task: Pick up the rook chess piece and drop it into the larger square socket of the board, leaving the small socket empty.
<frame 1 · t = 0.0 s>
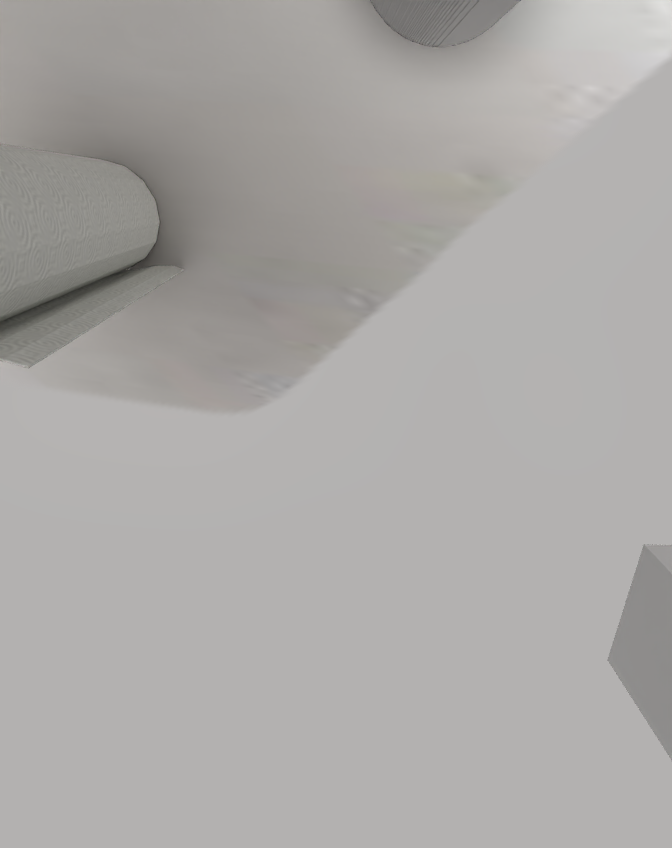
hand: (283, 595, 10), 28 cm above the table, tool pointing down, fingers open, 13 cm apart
paper towel roll: (114, 225, 34), on the table
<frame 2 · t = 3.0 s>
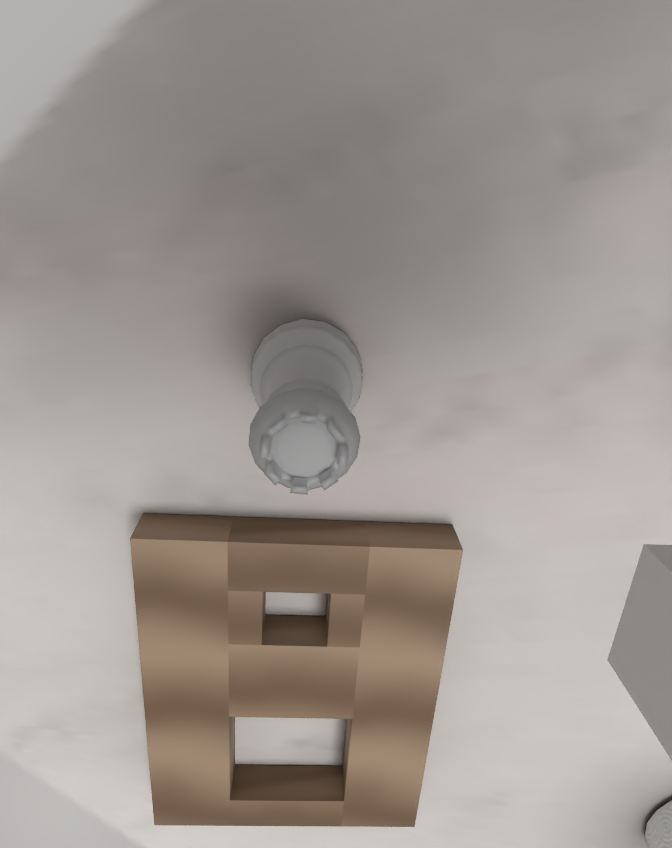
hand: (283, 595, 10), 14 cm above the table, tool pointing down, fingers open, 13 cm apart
socket board: (293, 670, 29), on the table
rook chess piece: (307, 369, 23), on the table
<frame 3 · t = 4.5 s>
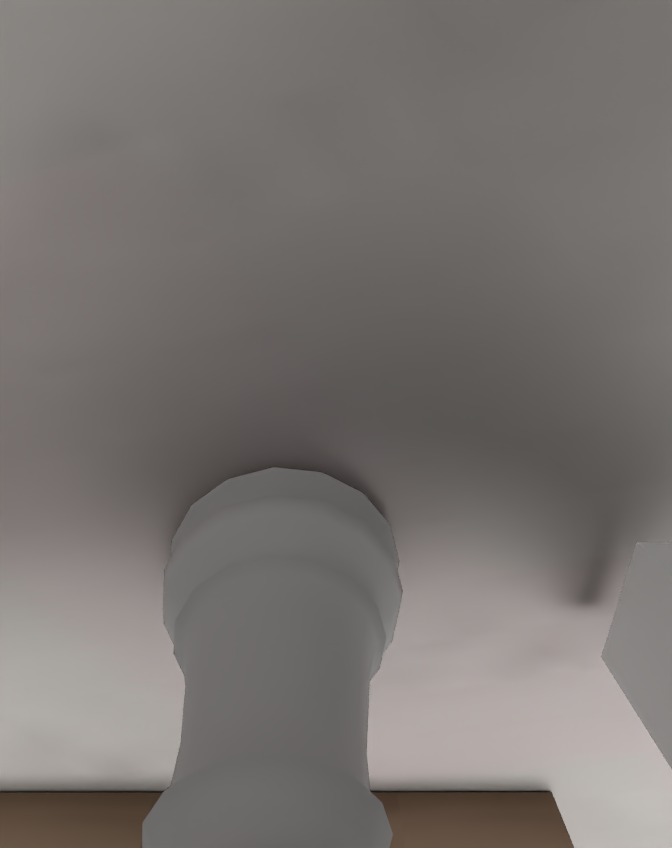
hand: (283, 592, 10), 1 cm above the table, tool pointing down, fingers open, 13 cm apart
rook chess piece: (286, 549, 12), on the table
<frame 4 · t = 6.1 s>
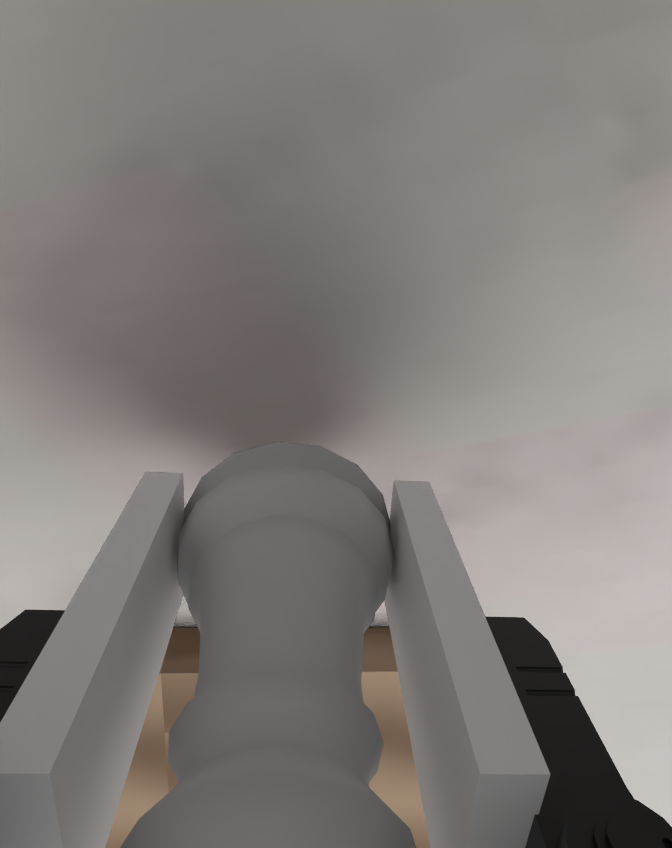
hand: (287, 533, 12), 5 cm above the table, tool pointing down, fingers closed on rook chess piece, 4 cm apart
socket board: (258, 805, 23), on the table
rook chess piece: (288, 520, 13), point 5 cm above the table, touching gripper
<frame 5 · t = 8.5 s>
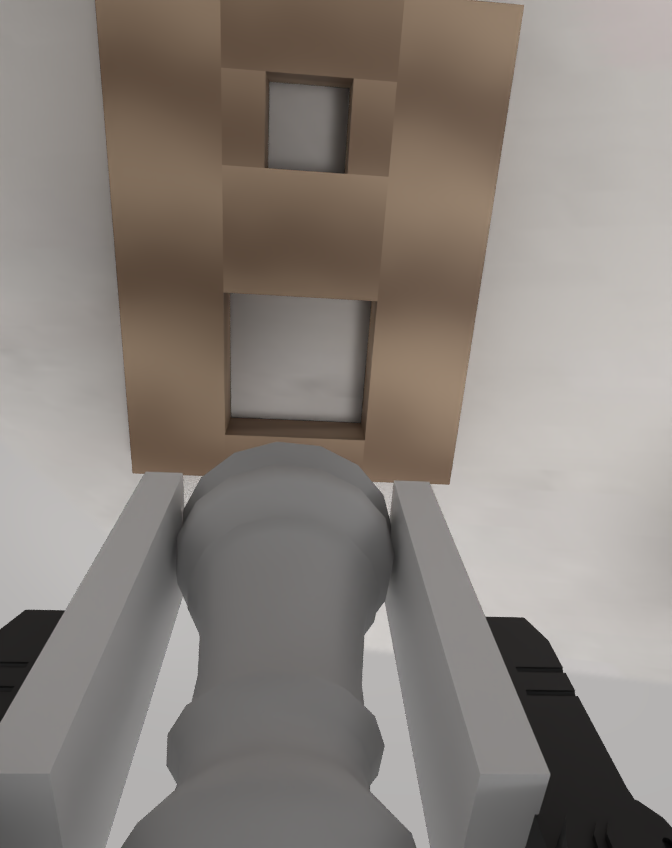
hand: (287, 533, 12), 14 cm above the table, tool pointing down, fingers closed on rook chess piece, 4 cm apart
socket board: (302, 264, 24), on the table
rook chess piece: (288, 520, 13), point 14 cm above the table, touching gripper
when the fingers open (3 cm above the table, at t = 11.0 s): rook chess piece drops 3 cm, resting in socket board.
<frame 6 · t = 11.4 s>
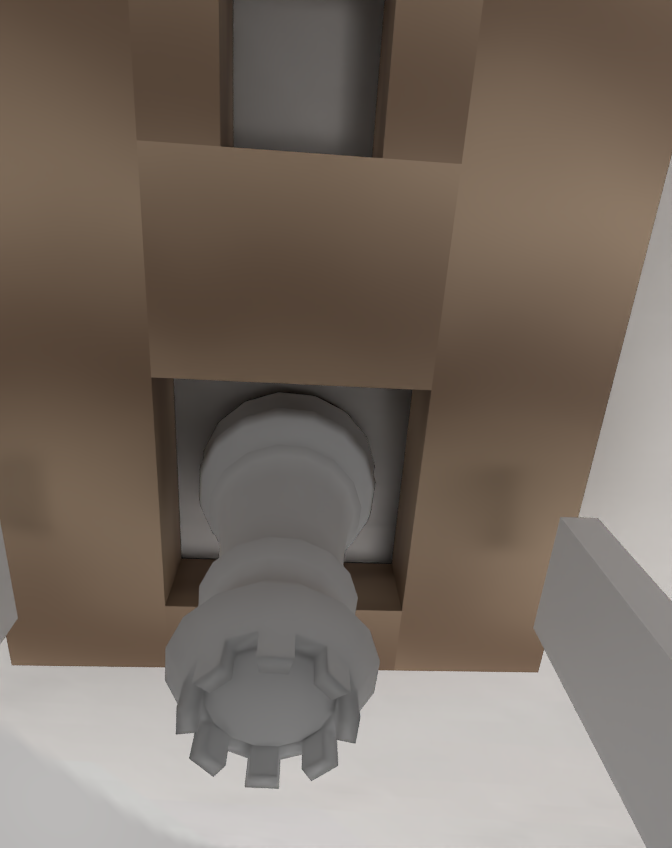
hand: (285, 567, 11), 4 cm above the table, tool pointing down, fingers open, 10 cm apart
socket board: (297, 318, 14), on the table
rook chess piece: (289, 462, 15), resting in socket board
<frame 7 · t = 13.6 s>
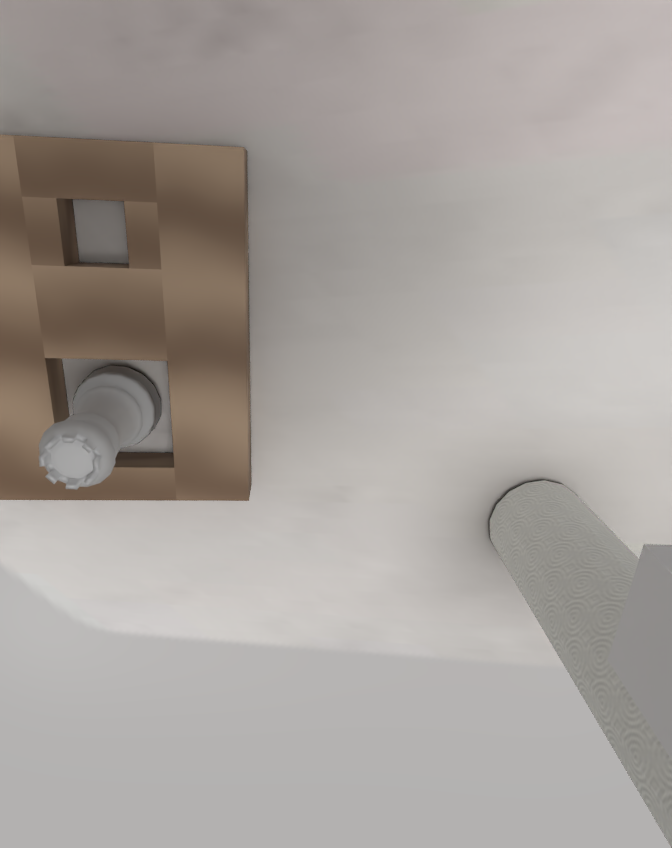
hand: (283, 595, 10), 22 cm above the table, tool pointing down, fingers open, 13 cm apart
paper towel roll: (534, 526, 37), on the table
socket board: (116, 331, 30), on the table
rook chess piece: (123, 400, 32), resting in socket board
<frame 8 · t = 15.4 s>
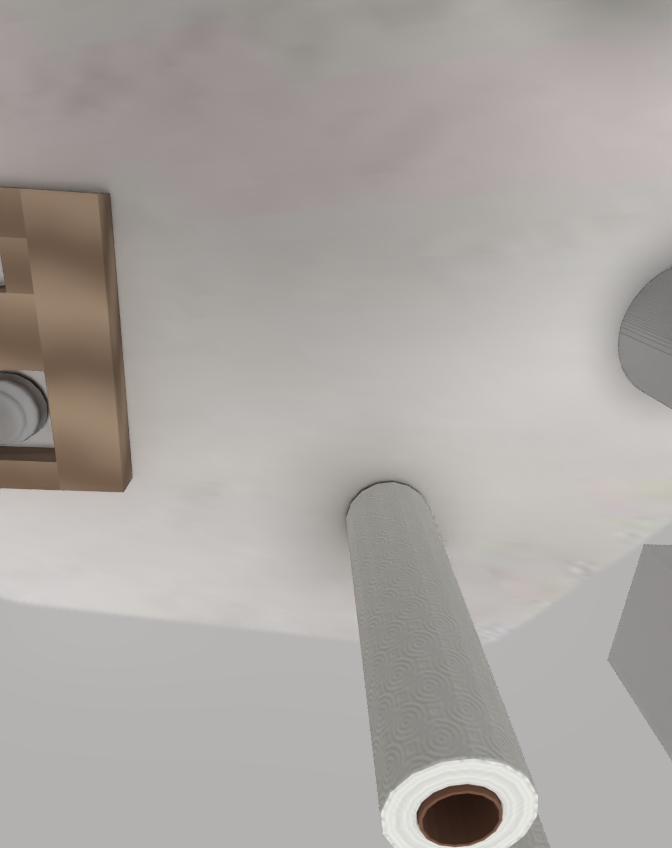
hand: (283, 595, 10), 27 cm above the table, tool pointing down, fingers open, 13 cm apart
paper towel roll: (389, 522, 41), on the table
socket board: (5, 343, 35), on the table
rook chess piece: (16, 402, 37), resting in socket board
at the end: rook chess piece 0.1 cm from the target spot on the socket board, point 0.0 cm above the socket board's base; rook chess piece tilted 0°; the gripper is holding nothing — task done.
